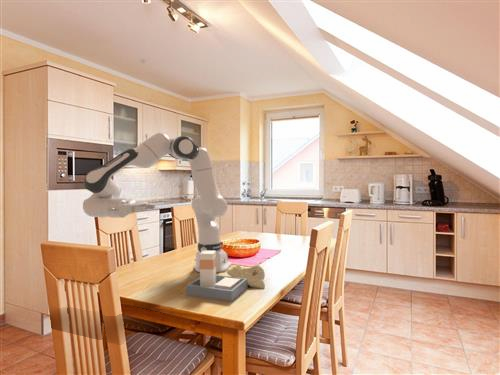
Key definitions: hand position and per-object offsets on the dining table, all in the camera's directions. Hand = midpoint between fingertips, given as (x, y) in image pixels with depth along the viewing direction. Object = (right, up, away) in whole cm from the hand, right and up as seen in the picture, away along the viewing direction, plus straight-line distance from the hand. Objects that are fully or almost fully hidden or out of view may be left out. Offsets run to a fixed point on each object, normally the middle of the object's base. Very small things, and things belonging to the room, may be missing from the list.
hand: (150, 207), depth 137 cm
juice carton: (+26, -34, -6) cm, 43 cm away
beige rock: (+42, -35, 0) cm, 55 cm away
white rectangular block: (+35, -34, -9) cm, 49 cm away
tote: (+30, -35, -7) cm, 47 cm away
